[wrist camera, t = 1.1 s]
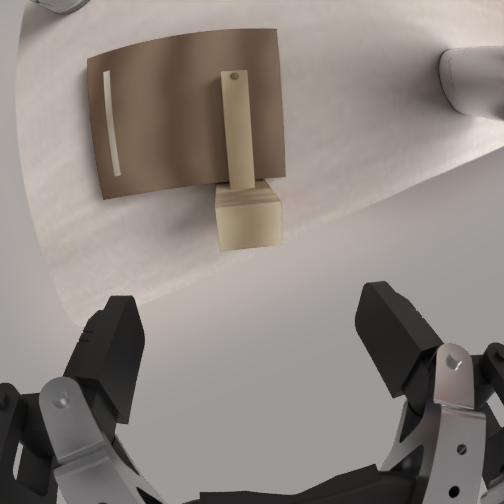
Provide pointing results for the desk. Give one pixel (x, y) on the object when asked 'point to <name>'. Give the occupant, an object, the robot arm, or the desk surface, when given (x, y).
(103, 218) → the desk surface
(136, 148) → the walnut board
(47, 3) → the travel mug
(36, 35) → the desk surface
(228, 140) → the marking gauge
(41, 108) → the desk surface
